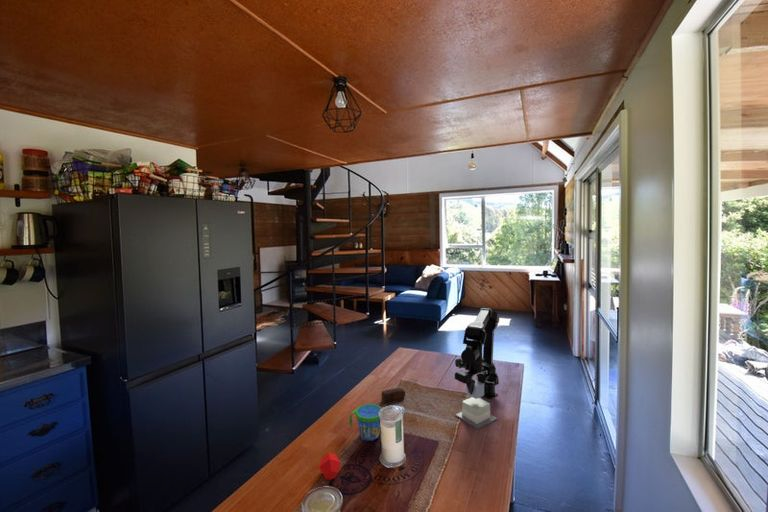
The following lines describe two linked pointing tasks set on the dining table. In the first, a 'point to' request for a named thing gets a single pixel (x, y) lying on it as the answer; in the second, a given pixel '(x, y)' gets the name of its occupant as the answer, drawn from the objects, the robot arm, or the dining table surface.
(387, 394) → the brick
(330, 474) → the red rounded lump
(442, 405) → the dining table surface
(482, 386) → the top block
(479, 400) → the pale block on slab
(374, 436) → the snack cup
